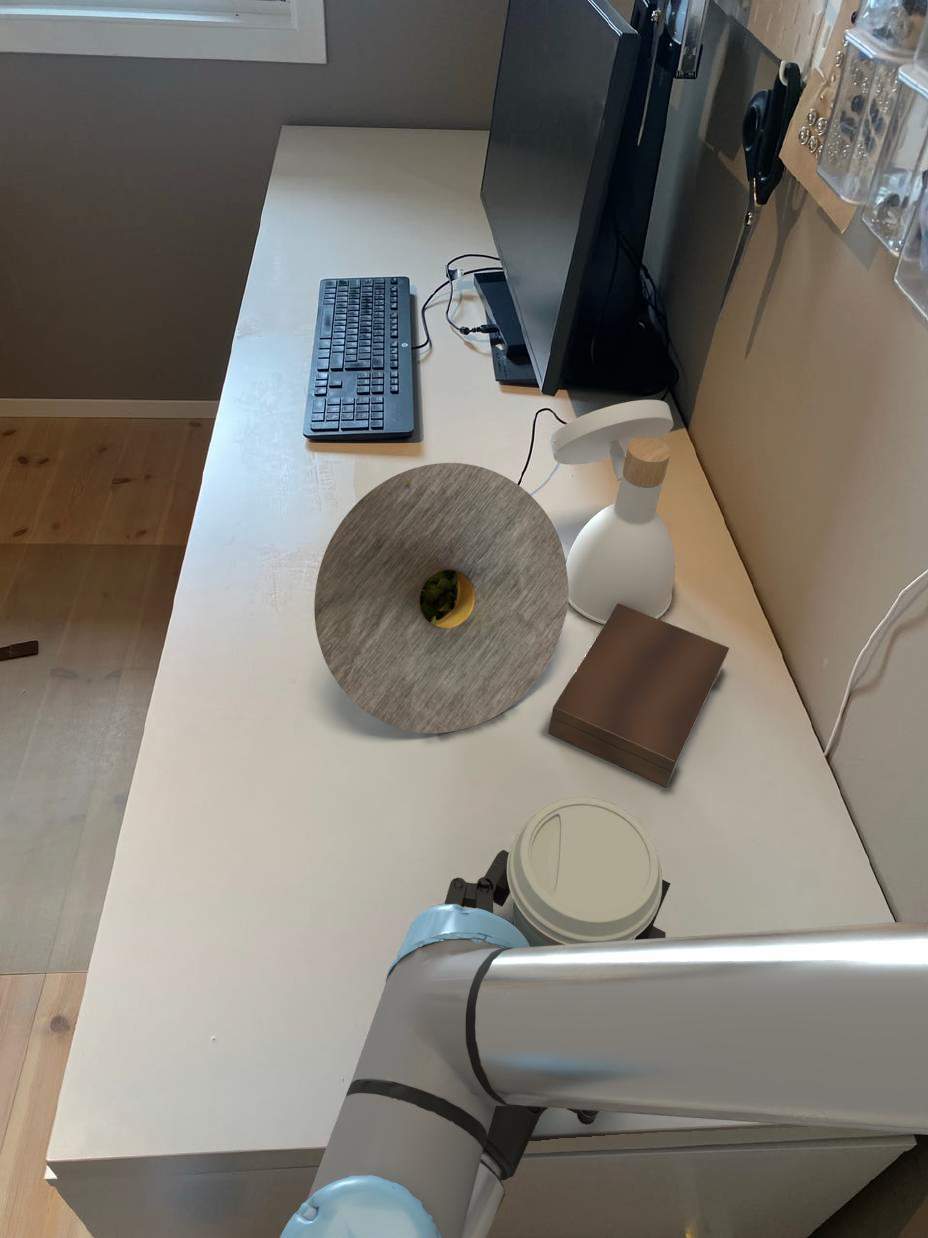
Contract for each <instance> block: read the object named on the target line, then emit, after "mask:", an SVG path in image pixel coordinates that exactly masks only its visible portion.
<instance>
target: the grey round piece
mask: <svg viewBox="0 0 928 1238" xmlns="http://www.w3.org/2000/svg"><path fill="white" fill-rule="evenodd" d="M321 559H322V560H321V564H320V566H319V569H318V574H317V578H316V582H315V591H314V605H313V606H314V607H313V609H314V612H313V613H314V614H313V615H314V625H315V633H316V637H317V641H318V645H319V649H320V651H321V654H322V656H323V658H324V661H325V663H326V666H327V667H328V669H329V672H330V673H331V675H332V677H333V678H334V680H335V682H336V683H337V684H338V686H339V687H340V688H341V690H342V691H343V693H345V694H346V695H347V697H349V699H350V700H351V701H352V702H353V703H354V704H355V705H357V706H358V707H359V708H360V709H361V710H363V711H364V712H366V713H367V714H368V715H370V716H372V717H374V718H375V719H377V720H378V721H380V722H383V723H384V724H387V725H389V726H391V727H394V728H398V729H401V730H405V731H408V732H414V733H421V734H442V733H450V732H457V731H461V730H467V729H470V728H472V727H476V726H479V725H481V724H483V723H485V722H487V721H489V720H491V719H493V718H496V717H497V716H499V715H501V714H502V713H503V712H505V711H507V710H508V709H509V708H510V707H512V706H513V705H514V704H516V703H517V702H518V701H519V700H520V699H521V698H522V697H523V696H524V695H525V694H526V693H527V692H528V691H529V690H530V689H531V688H532V686H533V685H534V684H535V683H536V682H537V680H538V679H539V678H540V677H541V676H542V674H543V673H544V671H545V670H546V669H547V667H548V665H549V663H550V661H551V660H552V659H553V656H554V653H555V651H556V648H557V647H558V644H559V642H560V639H561V635H562V631H563V627H564V623H565V621H566V617H567V612H568V609H569V602H568V600H569V586H568V576H567V569H566V562H567V560H566V555H565V551H564V548H563V545H562V541H561V539H560V536H559V534H558V531H557V529H556V528H555V525H554V524H553V522H552V520H551V518H550V517H549V516H548V513H546V511H545V509H543V507H542V506H541V505H540V503H538V501H536V499H535V498H534V497H533V496H532V495H531V494H530V493H529V492H528V491H527V490H525V488H523V487H522V486H520V485H519V484H518V483H516V482H515V481H513V480H512V479H510V478H509V477H507V476H505V475H502V474H501V473H498V472H497V471H494V470H492V469H489V468H486V467H482V466H478V465H474V464H468V463H461V462H438V463H431V464H425V465H421V466H416V467H413V468H411V469H408V470H405V471H403V472H400V473H398V474H396V475H393V476H392V477H390V478H388V479H386V480H385V481H383V482H381V483H380V484H378V485H377V486H375V487H374V488H373V489H371V490H370V491H369V492H368V493H366V494H365V495H364V496H363V497H362V498H361V499H359V501H358V502H356V504H355V505H353V507H352V508H351V509H350V510H349V511H348V512H347V514H346V515H345V516H344V518H343V519H342V521H341V522H340V523H339V525H338V527H337V528H336V530H335V531H334V533H333V535H332V537H331V538H330V541H329V542H328V544H327V546H326V549H325V552H324V554H323V557H322V558H321Z"/></svg>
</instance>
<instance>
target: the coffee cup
mask: <svg viewBox="0 0 928 1238" xmlns="http://www.w3.org/2000/svg"><path fill="white" fill-rule="evenodd" d="M508 852H509V855H508V860H507V879H508V884H509V888H510V891H511V892H510V894H511V897H512V905H513V907H512V908H513V926H515V927H516V928H517V929H518V930H519V931H520V932H521V933H522V934H523V936H524V937H525V938H526V940H527V942H528V943H529V946H530V947H539V946H553V945H568V944H583V943H597V942H612V941H627V940H634V939H635V938H636V936H637V935H639V934H640V933H641V932H642V931H643V930H644V929H645V928H646V927H647V926H648V925H649V924H650V922H651V921H652V919H653V918H654V916H655V914H656V912H657V910H658V907H659V904H660V900H661V894H662V879H663V870H662V866H661V861H660V858H659V855H658V853H657V850H656V847H655V844H654V842H653V840H652V838H651V836H650V835H649V833H648V831H647V830H646V829H645V827H644V826H643V825H642V824H641V822H639V820H637V819H636V818H635V817H634V816H633V815H631V813H628V811H626V810H624V809H623V808H621V807H619V806H617V805H615V804H613V803H611V802H608V801H605V800H602V799H598V798H594V797H593V798H592V797H569V798H564V799H561V800H557V801H555V802H552V803H551V804H548V805H547V806H545V807H544V808H542V809H540V810H539V811H538V812H536V814H534V815H533V816H532V817H531V818H529V819H528V821H526V822H525V823H524V824H523V826H522V827H521V828H520V829H519V831H518V833H517V834H516V837H515V838H514V840H513V842H512V844H511V845H510V849H509V851H508Z"/></svg>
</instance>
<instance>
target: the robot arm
mask: <svg viewBox="0 0 928 1238" xmlns="http://www.w3.org/2000/svg"><path fill="white" fill-rule="evenodd" d="M508 855H509V851H507V850H505V849H502V850H501V851H499V852H498V853H497V854H496V856H495V857H494V859H493V861H492V862H491V864H490V866H489V867H488V869H487V871H486V873H485V875H484V876H482V877H480V878H478V880H477V882H468V881H466V880H465V879H464V878H462V877H455V878H453V879H452V880H450V883H449V887H448V890H447V893H446V897H445V901H444V903H443V904H437V905H434V906H431V907H428V908H426V909H424V910H422V911H421V912H419V914H417V916H416V917H415V918H414V919H413V921H412V922H411V923H410V926H409V927H408V930H407V932H406V935H405V936H404V940H403V941H402V944H401V946H400V949H399V951H398V954H397V955H396V958H395V959H394V960H393V961H392V963H391V964H390V966H389V969H388V971H387V975H386V977H385V984H384V987H383V990H382V993H381V996H380V999H379V1002H378V1004H377V1007H376V1009H375V1013H374V1015H373V1018H372V1021H371V1024H370V1027H369V1030H368V1033H367V1035H366V1038H365V1041H364V1043H363V1047H362V1050H361V1052H360V1055H359V1058H358V1061H357V1064H356V1066H355V1070H354V1073H353V1076H352V1078H351V1082H350V1084H349V1087H348V1089H347V1091H346V1094H345V1097H344V1099H343V1102H342V1105H341V1106H340V1110H339V1113H338V1115H337V1118H336V1120H335V1123H334V1126H333V1128H332V1132H331V1134H330V1137H329V1139H328V1142H327V1145H326V1147H325V1150H324V1152H323V1156H322V1159H321V1160H320V1164H319V1166H318V1169H317V1171H316V1174H315V1178H314V1180H313V1183H312V1185H311V1188H310V1191H309V1193H308V1196H307V1199H306V1200H305V1201H304V1202H303V1203H302V1204H301V1205H300V1207H299V1208H298V1209H297V1211H296V1212H295V1213H293V1214H292V1216H291V1217H290V1219H289V1220H288V1222H287V1223H286V1225H285V1227H284V1228H283V1230H282V1233H280V1236H279V1238H487V1236H488V1234H489V1232H490V1229H491V1227H492V1225H493V1223H494V1222H495V1219H496V1217H497V1214H498V1212H499V1209H500V1207H501V1205H502V1203H503V1200H504V1198H505V1196H506V1189H505V1185H504V1184H503V1182H502V1181H506V1180H508V1179H509V1178H510V1179H511V1178H513V1177H514V1175H515V1174H516V1171H517V1169H518V1167H519V1165H520V1163H521V1160H522V1158H523V1156H524V1154H525V1151H526V1149H527V1147H528V1144H529V1143H530V1141H531V1138H532V1136H533V1133H534V1131H535V1129H536V1126H537V1124H538V1122H539V1119H540V1118H541V1116H542V1114H543V1113H545V1111H546V1110H548V1109H549V1108H550V1109H563V1110H564V1109H565V1110H567V1111H570V1112H572V1113H574V1114H576V1118H577V1120H578V1121H579V1123H581V1124H582V1125H585V1126H589V1125H592V1124H593V1123H594V1122H595V1120H596V1118H597V1116H598V1114H599V1113H600V1112H604V1113H605V1112H606V1113H622V1114H634V1115H649V1116H663V1117H674V1118H675V1117H676V1118H692V1119H705V1120H717V1121H730V1122H732V1121H733V1122H746V1123H759V1124H773V1125H774V1124H775V1125H789V1126H799V1127H800V1126H801V1127H814V1128H815V1127H816V1128H828V1129H829V1128H830V1129H844V1130H859V1131H871V1132H883V1133H884V1132H885V1133H901V1134H913V1135H928V919H923V920H921V919H920V920H912V921H911V920H910V921H909V920H908V921H894V922H881V923H867V924H866V923H865V924H863V923H862V924H849V925H835V926H834V925H833V926H821V927H820V926H819V927H805V928H792V929H777V930H775V929H773V930H762V931H759V930H758V931H747V932H745V931H744V932H733V933H731V932H730V933H717V934H716V933H715V934H703V935H687V936H673V937H667V935H666V934H667V933H666V931H664V930H662V929H660V928H658V927H656V926H654V924H655V922H656V920H657V917H658V915H659V912H660V910H661V907H662V905H663V903H664V901H665V898H666V896H667V894H668V891H669V888H670V887H671V882H669V881H667V880H664V879H663V878H662V894H661V900H660V904H659V907H658V910H657V912H656V914H655V916H654V918H653V919H652V921H651V922H650V924H649V925H648V926H647V927H646V928H645V929H644V930H643V931H642V932H641V933H640V934H639V935H637V936H636V937H635V938H634V939H631V940H627V941H612V942H597V943H583V944H568V945H553V946H539V947H530V946H529V943H528V942H527V940H526V938H525V937H524V936H523V934H522V933H521V932H520V931H519V930H518V929H517V928H516V927H515V926H514V924H512V923H510V922H509V921H508V920H506V919H505V918H502V917H501V916H499V915H497V914H494V904H496V905H498V906H499V907H500V908H503V907H504V905H505V903H506V901H507V900H508V898H509V896H510V894H511V891H510V888H509V884H508V879H507V860H508ZM469 908H470V909H469Z"/></svg>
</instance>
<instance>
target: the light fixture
mask: <svg viewBox="0 0 928 1238" xmlns="http://www.w3.org/2000/svg"><path fill="white" fill-rule="evenodd" d="M673 427H674V420H673V416H672V413H671V409H670V406H669V404H668V403H667V402H665V401H663V400H658V399H639V400H632V401H626V402H621V403H616V404H613V405H609V406H606V407H603V408H600V409H596V410H593V411H591V412H587V413H586V414H583V415H581V416H579V417H577V418H574V419H573V420H571V421H568V422H567V423H565V424H564V425H562V426H561V427H559V428H558V429H557V430H555V432H553V434H551V436H550V438H549V444H550V448H551V452H552V456H553V459H554V462H557V463H558V464H562V465H568V466H569V465H571V466H573V465H586V464H593V463H599V462H603V461H607V460H611V464H612V467H613V471H614V475H615V478H616V481H617V482H618V481H620V482H619V486H618V491H617V495H616V500H615V502H614V503H612V504H610V505H607V506H606V507H604V508H603V509H602V510H600V511H599V512H598V513H596V514H595V515H594V516H592V518H591V519H589V521H588V522H587V523H586V524H585V525H584V526H583V527H582V529H581V530H580V532H579V533H578V535H577V537H576V539H575V540H574V542H573V544H572V545H571V548H570V550H569V553H568V556H567V559H566V569H567V576H568V586H569V600H568V604H569V605H570V606H571V607H572V608H573V609H574V610H575V611H576V612H578V613H579V614H580V615H582V616H583V617H585V618H587V619H589V620H590V621H593V622H595V623H598V624H601V625H604V624H605V623H606V621H607V619H608V618H609V616H610V615H611V613H612V611H613V610H614V608H615V607H616V605H617V604H618V603H619V604H621V605H624V606H626V607H629V608H631V609H634V610H636V611H639V612H641V613H644V614H646V615H649V616H651V617H654V618H656V619H660V618H661V617H662V616H663V615H664V614H665V613H666V612H667V611H668V609H669V608H670V605H671V603H672V598H673V589H674V583H675V576H676V557H675V550H674V544H673V541H672V538H671V535H670V532H669V530H668V528H667V525H666V524H665V522H664V521H663V519H662V517H661V516H660V515H659V514H658V513H657V511H656V510H657V506H658V502H659V498H660V495H661V492H662V491H661V490H662V487H663V483H664V480H665V478H666V477H665V476H666V472H667V469H668V465H669V461H670V458H671V451H672V450H671V448H670V447H669V445H668V444H667V443H666V442H664V441H662V440H661V439H662V438H664V437H665V436H667V434H669V432H671V430H672V429H673Z"/></svg>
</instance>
